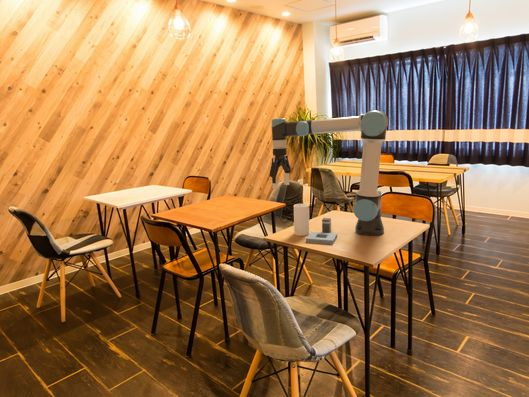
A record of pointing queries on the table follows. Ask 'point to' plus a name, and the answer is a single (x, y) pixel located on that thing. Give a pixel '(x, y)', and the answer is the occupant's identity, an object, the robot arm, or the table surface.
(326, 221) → the charger
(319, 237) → the outlet plate
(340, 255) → the table surface
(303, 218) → the cup
